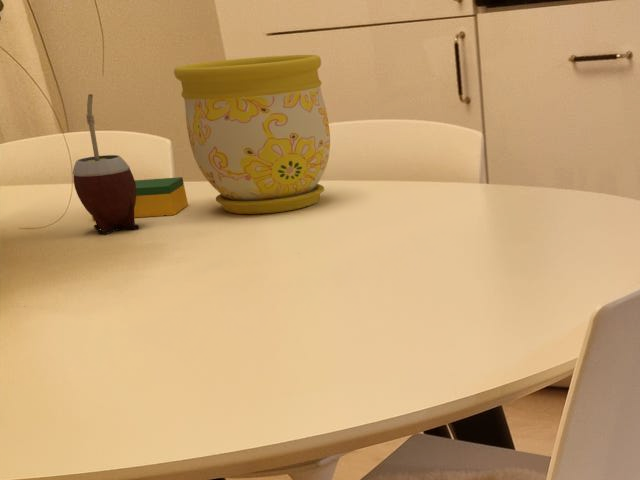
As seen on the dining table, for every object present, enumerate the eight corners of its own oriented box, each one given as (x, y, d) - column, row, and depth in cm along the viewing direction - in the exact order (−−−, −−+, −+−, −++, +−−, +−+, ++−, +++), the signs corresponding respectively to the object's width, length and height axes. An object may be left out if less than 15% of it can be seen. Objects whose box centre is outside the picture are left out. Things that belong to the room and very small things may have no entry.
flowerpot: (367, 195, 127) (350, 52, 118) (270, 223, 115) (242, 66, 106) (274, 189, 136) (251, 56, 127) (175, 214, 125) (142, 69, 115)
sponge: (93, 220, 125) (85, 191, 123) (110, 210, 130) (102, 182, 128) (175, 214, 124) (168, 185, 122) (188, 204, 130) (182, 177, 128)
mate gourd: (110, 222, 122) (75, 89, 114) (162, 223, 120) (130, 87, 111) (73, 235, 116) (33, 96, 108) (126, 236, 114) (90, 94, 106)
